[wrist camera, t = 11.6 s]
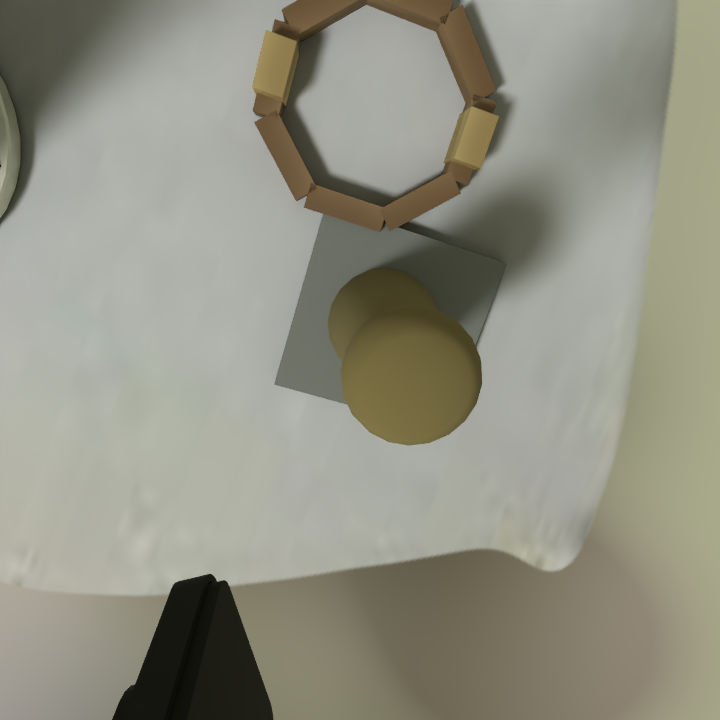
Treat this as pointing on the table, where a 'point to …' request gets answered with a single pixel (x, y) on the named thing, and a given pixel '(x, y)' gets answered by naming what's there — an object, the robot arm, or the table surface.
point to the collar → (471, 136)
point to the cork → (402, 358)
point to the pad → (367, 252)
